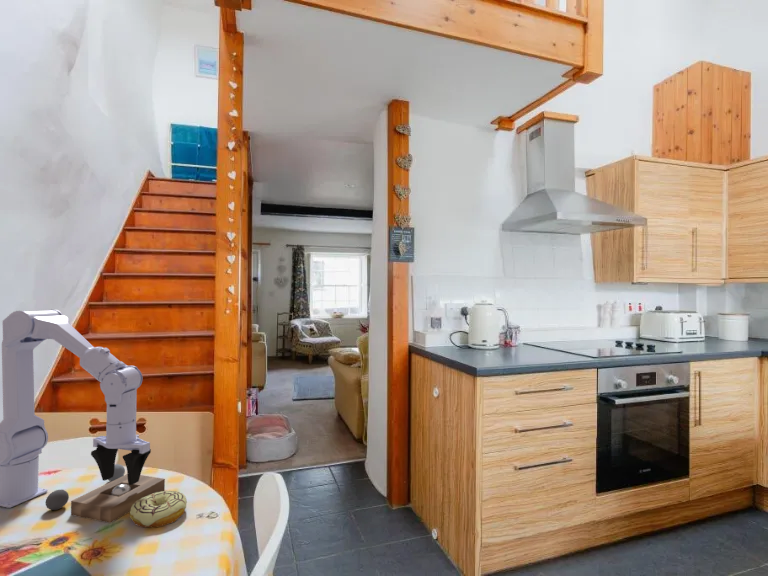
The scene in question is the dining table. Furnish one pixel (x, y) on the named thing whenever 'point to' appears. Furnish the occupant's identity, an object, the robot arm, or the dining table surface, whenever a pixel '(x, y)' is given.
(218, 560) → the dining table surface
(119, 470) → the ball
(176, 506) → the decorated donut
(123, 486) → the steel ball
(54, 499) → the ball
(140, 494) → the hole plate
